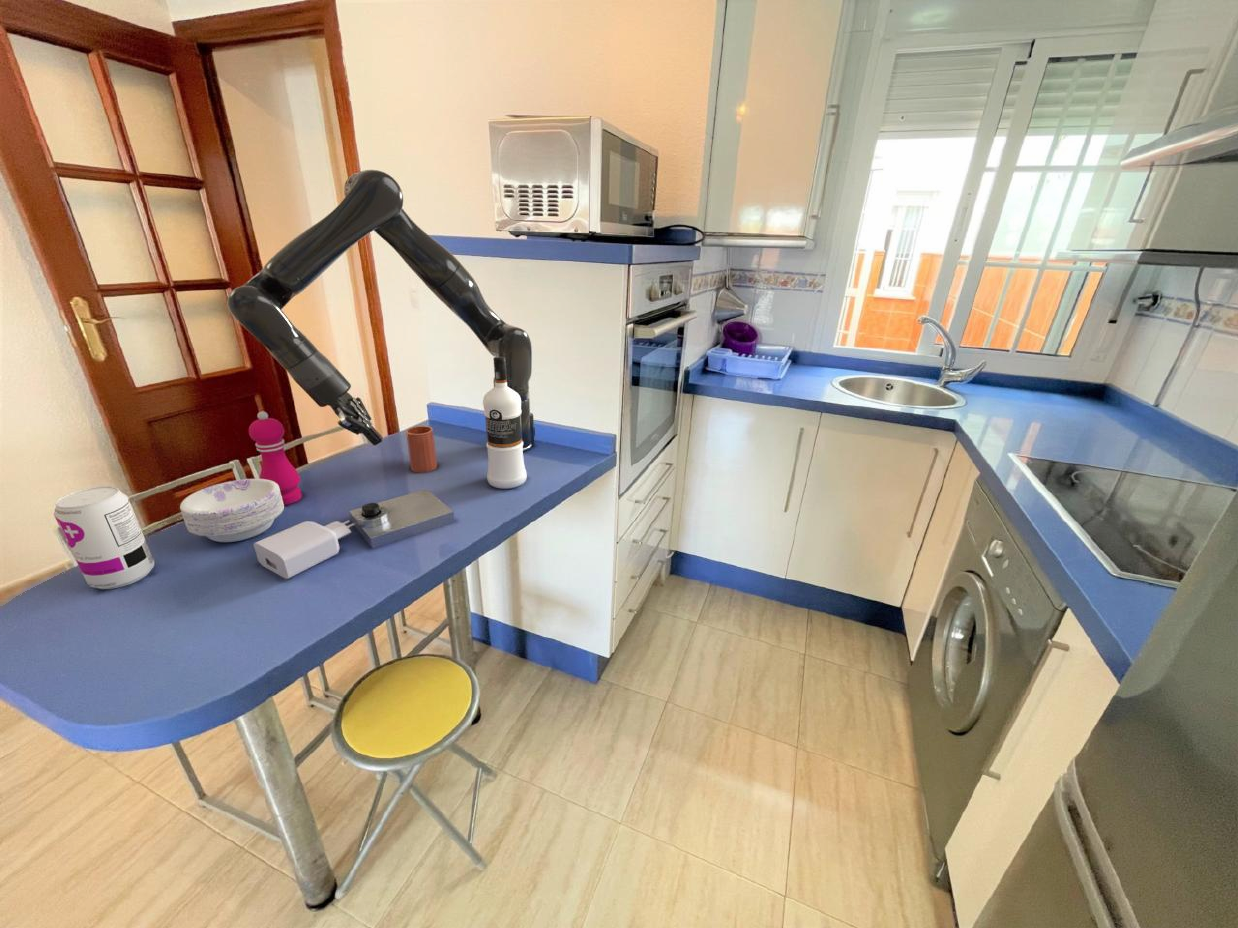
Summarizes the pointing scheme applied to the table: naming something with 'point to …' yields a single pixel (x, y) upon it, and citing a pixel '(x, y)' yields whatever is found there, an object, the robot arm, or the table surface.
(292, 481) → the pepper mill
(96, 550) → the supplement can
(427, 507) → the scale
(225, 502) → the paper bowls
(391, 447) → the table surface
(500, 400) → the vodka
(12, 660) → the table surface
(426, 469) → the cup
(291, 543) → the charger
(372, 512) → the button
